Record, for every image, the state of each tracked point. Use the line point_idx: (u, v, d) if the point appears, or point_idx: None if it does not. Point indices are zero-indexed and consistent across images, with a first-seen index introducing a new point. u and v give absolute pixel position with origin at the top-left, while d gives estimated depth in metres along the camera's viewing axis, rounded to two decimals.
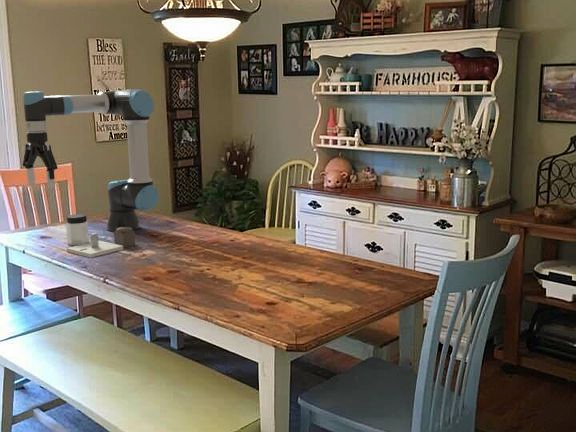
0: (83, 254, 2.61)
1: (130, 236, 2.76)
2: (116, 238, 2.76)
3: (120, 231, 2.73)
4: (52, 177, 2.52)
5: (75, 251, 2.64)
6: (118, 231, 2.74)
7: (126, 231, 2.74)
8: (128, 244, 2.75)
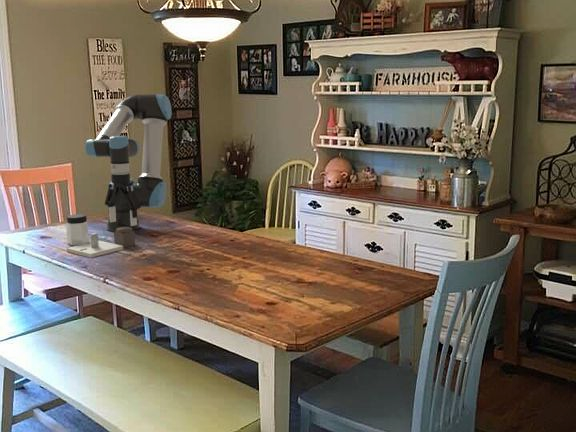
0: (83, 254, 2.61)
1: (130, 236, 2.76)
2: (116, 238, 2.76)
3: (120, 231, 2.73)
4: (135, 216, 2.70)
5: (75, 251, 2.64)
6: (118, 231, 2.74)
7: (126, 231, 2.74)
8: (128, 244, 2.75)
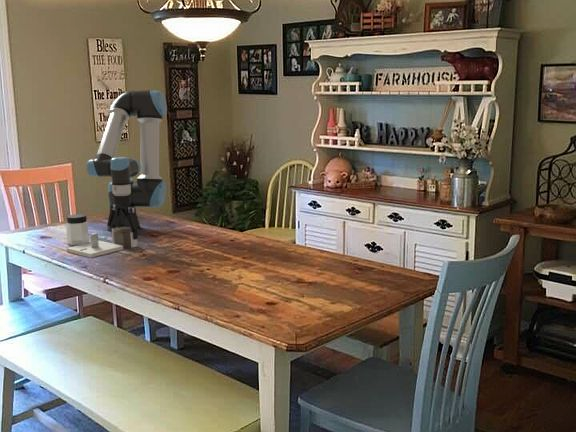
0: (83, 254, 2.61)
1: (130, 236, 2.76)
2: (116, 238, 2.76)
3: (120, 231, 2.73)
4: (135, 237, 2.72)
5: (75, 251, 2.64)
6: (118, 231, 2.74)
7: (126, 231, 2.74)
8: (128, 244, 2.75)
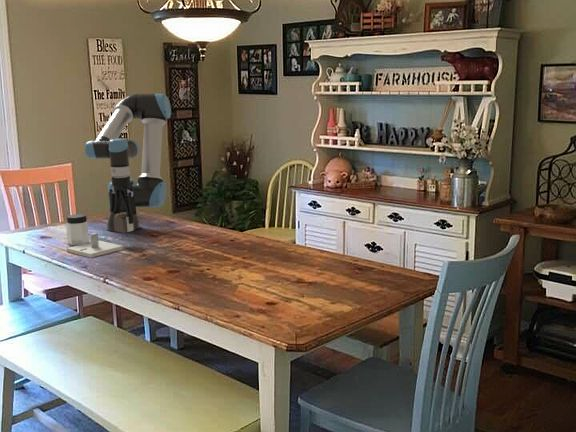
0: (83, 254, 2.61)
1: None
2: (116, 223, 2.75)
3: (119, 216, 2.73)
4: (131, 222, 2.73)
5: (75, 251, 2.64)
6: (117, 216, 2.73)
7: None
8: None
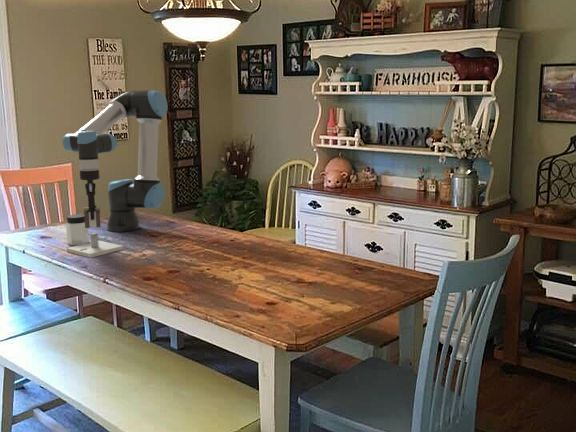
0: (83, 254, 2.61)
1: None
2: None
3: (84, 211, 2.64)
4: (92, 218, 2.61)
5: (75, 251, 2.64)
6: (83, 210, 2.65)
7: None
8: None
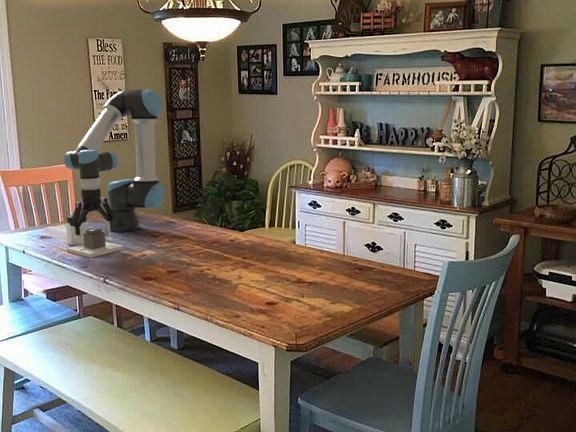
0: (83, 254, 2.61)
1: (89, 238, 2.66)
2: None
3: None
4: (76, 233, 2.61)
5: (75, 251, 2.64)
6: None
7: None
8: (87, 246, 2.67)
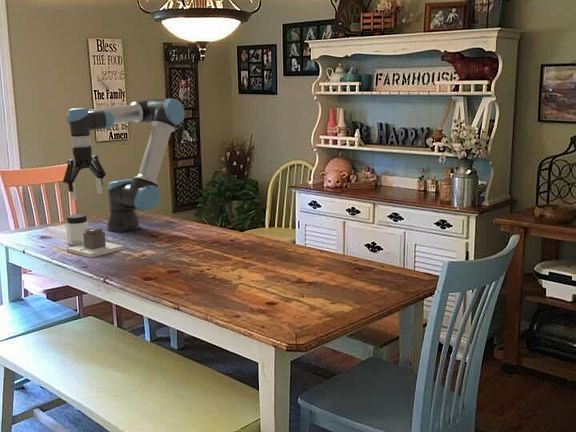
0: (83, 254, 2.61)
1: (89, 238, 2.66)
2: None
3: None
4: (69, 190, 2.68)
5: (75, 251, 2.64)
6: None
7: None
8: (87, 246, 2.67)
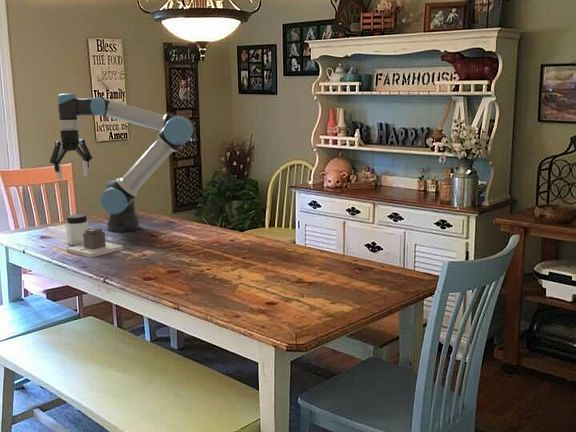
0: (83, 254, 2.61)
1: (89, 238, 2.66)
2: None
3: None
4: (55, 170, 2.83)
5: (75, 251, 2.64)
6: None
7: None
8: (87, 246, 2.67)
